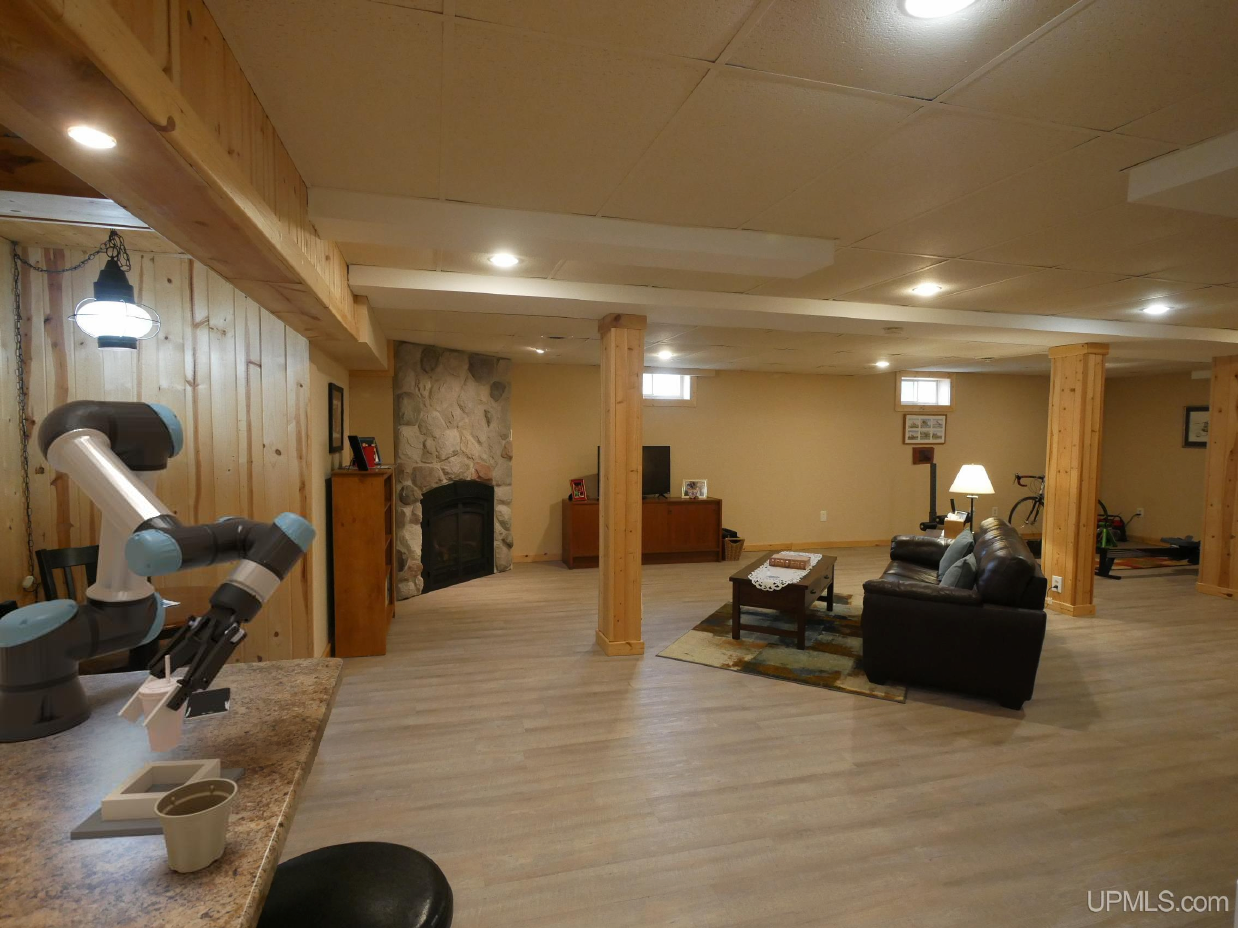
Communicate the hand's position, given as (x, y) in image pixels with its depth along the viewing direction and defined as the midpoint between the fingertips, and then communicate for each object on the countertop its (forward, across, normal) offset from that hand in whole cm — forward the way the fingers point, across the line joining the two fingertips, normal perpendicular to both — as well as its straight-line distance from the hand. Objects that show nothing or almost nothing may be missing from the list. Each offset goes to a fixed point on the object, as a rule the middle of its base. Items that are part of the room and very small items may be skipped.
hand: (138, 723), depth 95 cm
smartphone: (-9, +32, -29) cm, 44 cm away
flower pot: (+11, -17, -9) cm, 23 cm away
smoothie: (+1, 0, -6) cm, 6 cm away
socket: (+8, 0, -12) cm, 15 cm away
